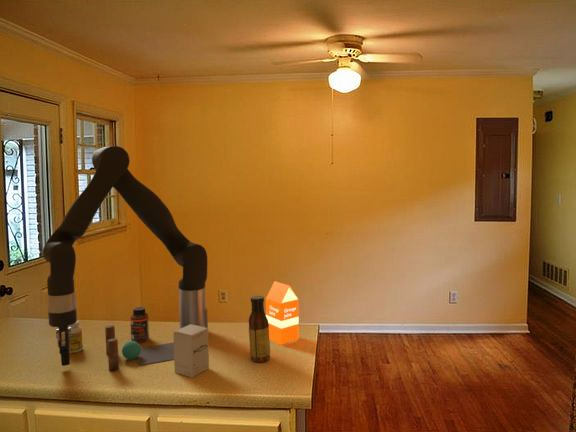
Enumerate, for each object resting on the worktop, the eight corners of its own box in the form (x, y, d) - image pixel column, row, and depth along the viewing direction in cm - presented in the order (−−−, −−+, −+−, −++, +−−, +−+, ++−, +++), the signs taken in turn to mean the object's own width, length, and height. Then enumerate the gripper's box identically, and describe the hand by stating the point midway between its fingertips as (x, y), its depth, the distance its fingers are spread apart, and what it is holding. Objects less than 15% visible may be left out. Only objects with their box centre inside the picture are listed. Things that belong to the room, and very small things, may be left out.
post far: (115, 351, 150) (114, 324, 149) (116, 354, 148) (114, 327, 147) (106, 352, 149) (104, 326, 148) (106, 356, 146) (105, 328, 146)
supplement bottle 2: (132, 344, 156) (130, 311, 155) (130, 338, 162) (128, 307, 160) (150, 341, 159) (148, 309, 157) (147, 335, 164) (146, 304, 163)
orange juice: (281, 346, 154) (280, 287, 152) (265, 338, 161) (265, 282, 158) (299, 340, 159) (298, 283, 156) (283, 333, 165) (282, 279, 163)
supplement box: (192, 378, 131) (191, 335, 129) (173, 372, 135) (172, 330, 133) (210, 368, 137) (208, 327, 136) (191, 363, 141) (190, 323, 139)
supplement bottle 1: (81, 345, 155) (79, 318, 154) (84, 350, 151) (82, 322, 150) (63, 349, 152) (62, 321, 151) (66, 354, 148) (64, 325, 147)
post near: (118, 366, 138) (117, 338, 138) (119, 370, 136) (117, 341, 135) (108, 368, 137) (107, 339, 136) (109, 372, 135) (107, 342, 134)
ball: (126, 358, 146) (142, 349, 148) (127, 365, 141) (144, 355, 143) (117, 344, 145) (134, 335, 147) (119, 351, 140) (136, 341, 142)
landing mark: (176, 342, 157) (176, 341, 157) (185, 357, 145) (184, 357, 145) (133, 349, 152) (133, 348, 152) (138, 365, 139) (138, 365, 139)
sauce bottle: (273, 356, 145) (272, 295, 143) (265, 364, 139) (264, 300, 137) (254, 353, 147) (253, 293, 145) (246, 361, 142) (244, 298, 139)
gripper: (76, 312, 131) (79, 370, 133) (76, 300, 143) (79, 354, 145) (46, 316, 128) (50, 376, 129) (49, 303, 140) (52, 358, 141)
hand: (65, 364), depth 137 cm, fingers closed
